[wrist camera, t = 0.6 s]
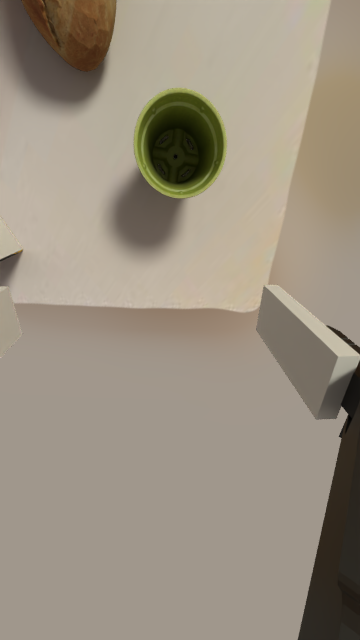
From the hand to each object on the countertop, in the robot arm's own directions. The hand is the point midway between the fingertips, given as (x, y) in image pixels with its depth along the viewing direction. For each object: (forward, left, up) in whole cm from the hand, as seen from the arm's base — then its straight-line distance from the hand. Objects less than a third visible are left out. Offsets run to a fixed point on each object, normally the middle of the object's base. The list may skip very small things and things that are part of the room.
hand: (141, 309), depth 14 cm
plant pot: (-9, +5, -27) cm, 29 cm away
